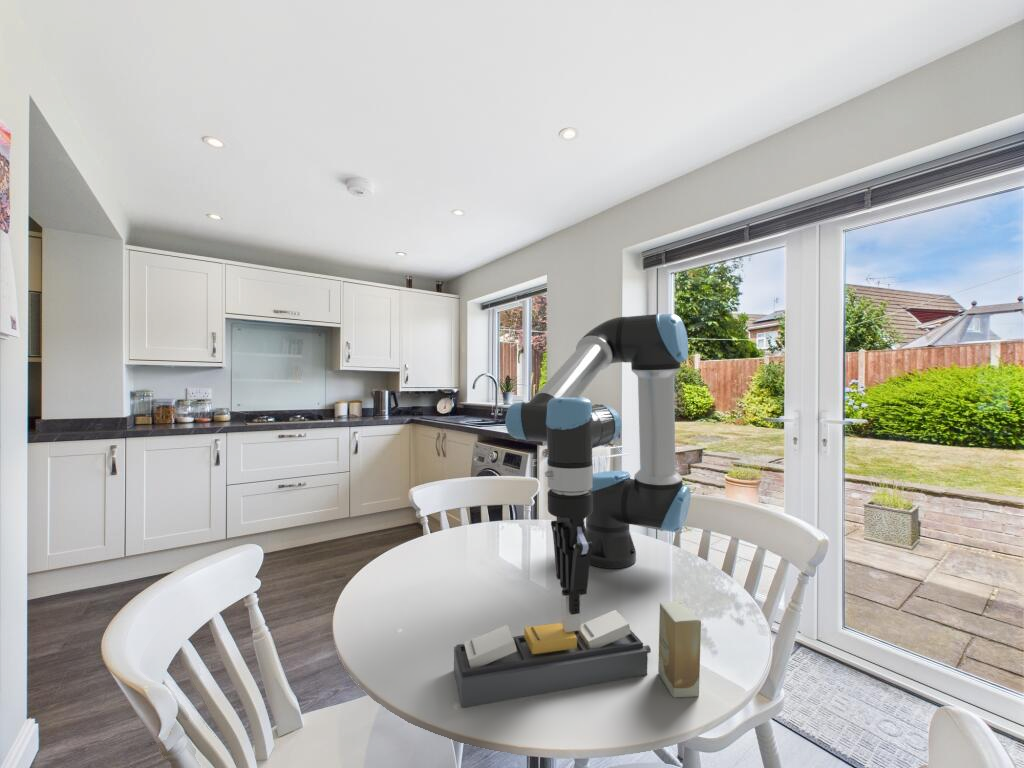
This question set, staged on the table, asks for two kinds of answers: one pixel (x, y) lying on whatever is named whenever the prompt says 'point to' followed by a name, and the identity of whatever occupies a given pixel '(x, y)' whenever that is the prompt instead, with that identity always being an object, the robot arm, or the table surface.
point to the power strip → (547, 669)
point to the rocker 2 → (604, 630)
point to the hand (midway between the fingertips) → (571, 628)
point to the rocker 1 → (490, 647)
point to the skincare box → (679, 649)
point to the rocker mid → (549, 638)
